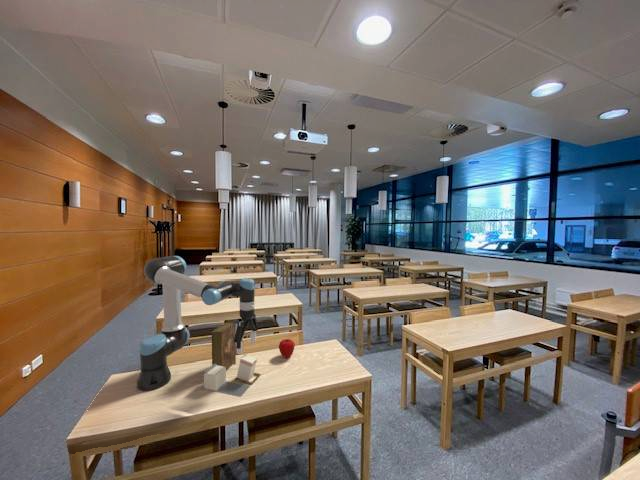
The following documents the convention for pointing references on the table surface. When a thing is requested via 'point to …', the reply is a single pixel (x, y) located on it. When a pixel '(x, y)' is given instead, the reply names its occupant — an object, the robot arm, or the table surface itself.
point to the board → (232, 388)
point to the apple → (286, 347)
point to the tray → (247, 381)
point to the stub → (246, 367)
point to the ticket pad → (214, 377)
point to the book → (224, 345)
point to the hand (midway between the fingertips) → (246, 348)
